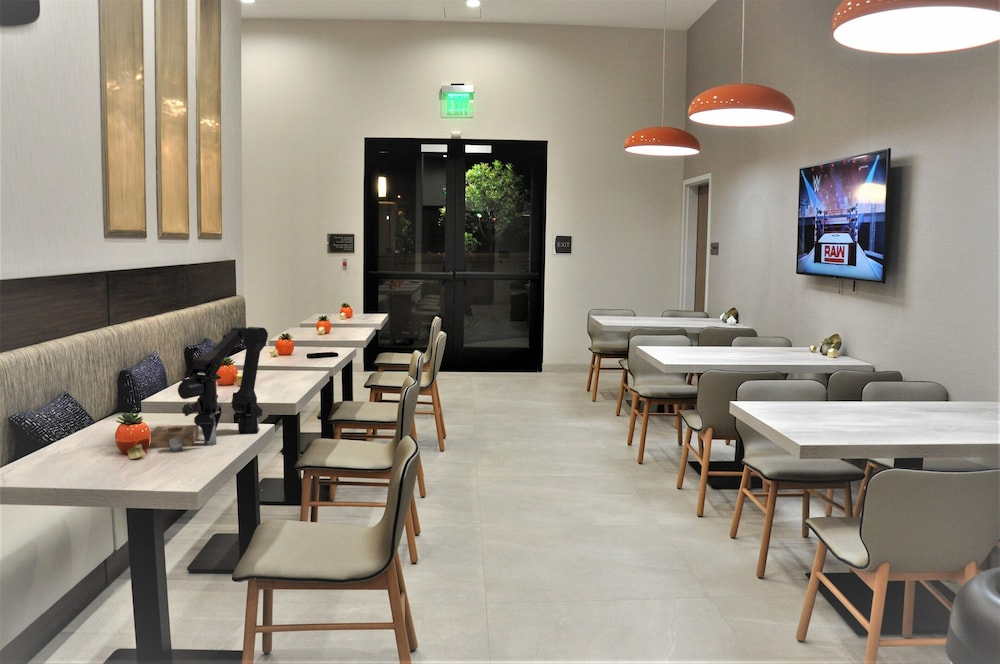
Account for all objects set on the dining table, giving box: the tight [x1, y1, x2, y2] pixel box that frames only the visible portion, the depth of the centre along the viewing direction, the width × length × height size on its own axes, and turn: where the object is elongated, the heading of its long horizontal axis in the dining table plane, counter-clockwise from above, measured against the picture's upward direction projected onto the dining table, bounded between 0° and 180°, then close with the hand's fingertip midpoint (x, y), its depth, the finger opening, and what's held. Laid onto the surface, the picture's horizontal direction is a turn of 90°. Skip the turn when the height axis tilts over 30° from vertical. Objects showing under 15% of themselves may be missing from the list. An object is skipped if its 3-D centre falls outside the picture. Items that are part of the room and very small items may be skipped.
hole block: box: [148, 424, 200, 449], centre depth 270 cm, size 14×12×4 cm
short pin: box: [168, 437, 183, 453], centre depth 260 cm, size 4×4×4 cm
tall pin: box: [203, 423, 218, 447], centre depth 267 cm, size 4×4×8 cm
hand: (210, 437), depth 267 cm, fingers open, 9 cm apart
